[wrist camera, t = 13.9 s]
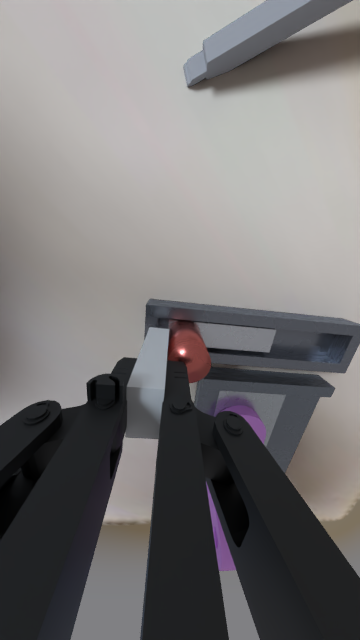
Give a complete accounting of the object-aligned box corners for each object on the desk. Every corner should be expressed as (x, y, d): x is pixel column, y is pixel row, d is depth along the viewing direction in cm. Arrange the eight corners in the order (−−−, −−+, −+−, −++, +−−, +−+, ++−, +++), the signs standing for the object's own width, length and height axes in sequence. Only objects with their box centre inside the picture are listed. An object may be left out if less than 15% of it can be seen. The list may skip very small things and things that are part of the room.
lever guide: (147, 345, 18) (143, 357, 15) (150, 298, 16) (146, 304, 14) (324, 360, 19) (345, 373, 17) (342, 318, 18) (367, 326, 15)
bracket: (245, 487, 22) (277, 578, 16) (204, 488, 22) (218, 580, 15) (263, 405, 19) (313, 475, 13) (215, 404, 19) (239, 475, 12)
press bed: (182, 473, 24) (182, 492, 22) (200, 366, 19) (204, 379, 17) (274, 475, 25) (283, 494, 23) (318, 375, 20) (335, 388, 18)
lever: (166, 341, 17) (163, 381, 11) (169, 314, 16) (167, 342, 10) (263, 349, 17) (307, 391, 12) (271, 324, 17) (322, 355, 11)
